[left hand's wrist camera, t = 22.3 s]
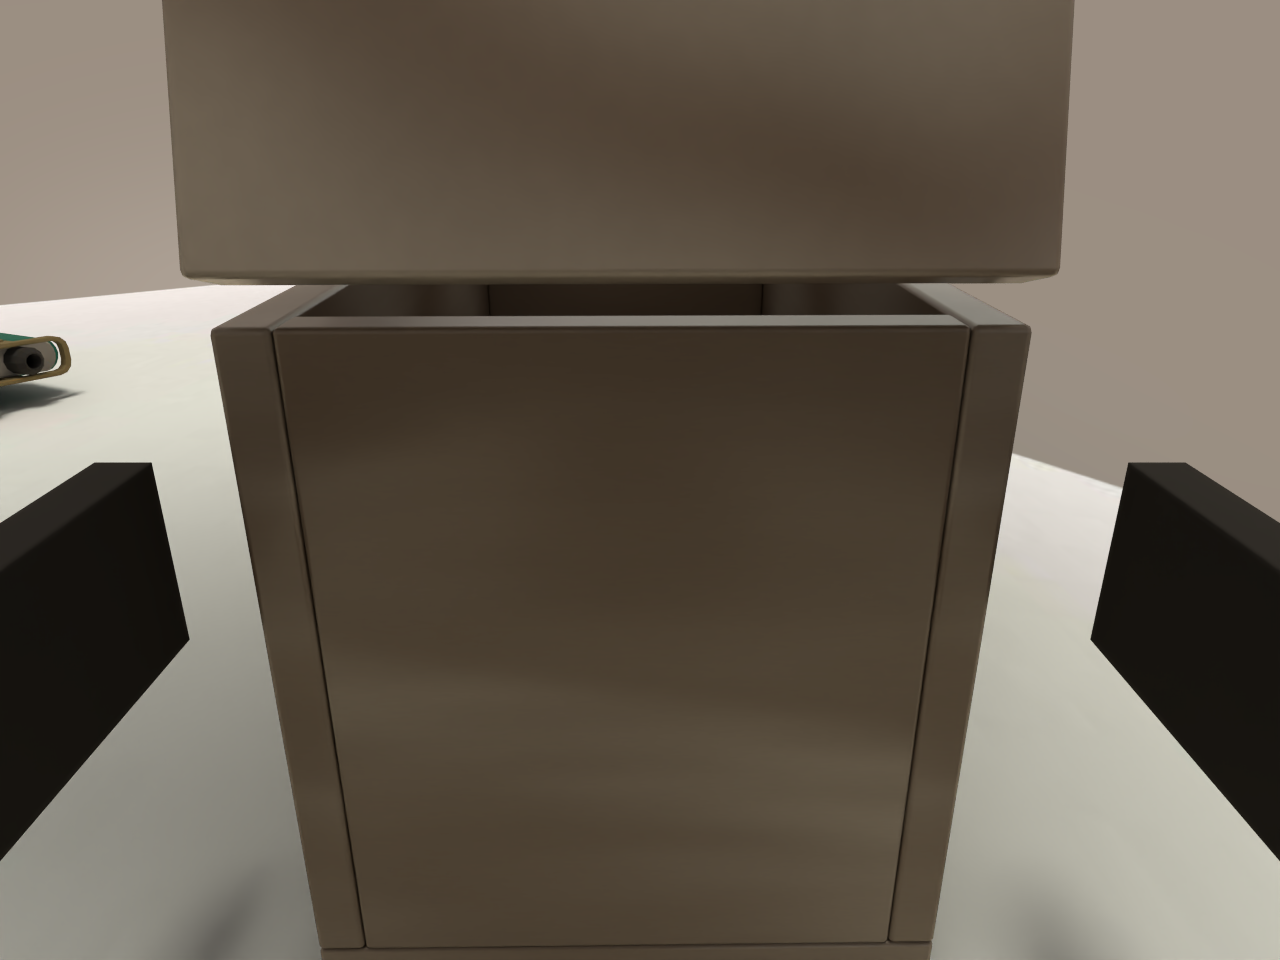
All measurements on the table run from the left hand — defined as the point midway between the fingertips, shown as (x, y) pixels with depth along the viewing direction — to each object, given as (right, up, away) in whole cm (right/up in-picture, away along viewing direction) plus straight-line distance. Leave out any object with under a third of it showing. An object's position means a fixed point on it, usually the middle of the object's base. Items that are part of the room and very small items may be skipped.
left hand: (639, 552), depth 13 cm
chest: (0, -4, +10) cm, 10 cm away
